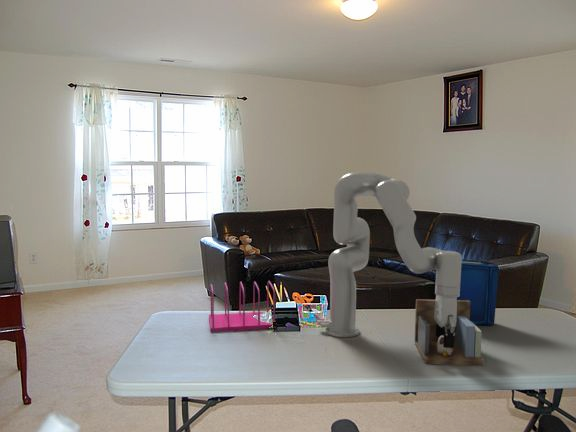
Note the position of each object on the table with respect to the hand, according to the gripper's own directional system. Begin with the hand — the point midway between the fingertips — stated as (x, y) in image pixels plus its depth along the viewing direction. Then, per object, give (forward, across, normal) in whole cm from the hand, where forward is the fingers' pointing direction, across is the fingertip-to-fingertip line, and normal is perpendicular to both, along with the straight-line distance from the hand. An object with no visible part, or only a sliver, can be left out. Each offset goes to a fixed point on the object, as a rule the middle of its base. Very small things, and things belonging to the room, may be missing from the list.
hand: (444, 341), depth 160 cm
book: (+6, -38, +18) cm, 42 cm away
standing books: (+4, -3, +9) cm, 10 cm away
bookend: (+4, -3, -6) cm, 8 cm away
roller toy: (+4, 0, 0) cm, 4 cm away
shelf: (+5, -3, +2) cm, 6 cm away
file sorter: (+7, -30, -70) cm, 77 cm away
